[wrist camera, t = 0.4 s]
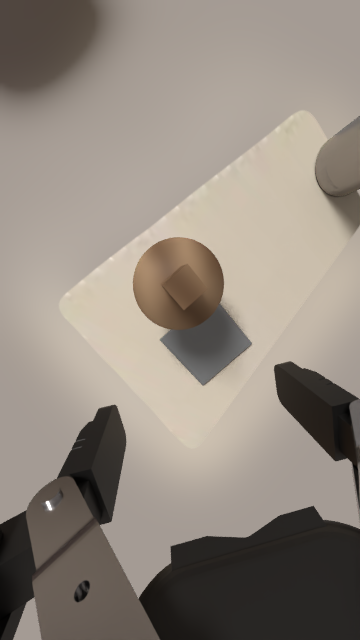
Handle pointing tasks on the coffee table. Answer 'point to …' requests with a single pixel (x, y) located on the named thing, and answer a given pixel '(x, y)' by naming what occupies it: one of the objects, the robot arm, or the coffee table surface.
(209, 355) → the mat
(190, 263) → the lid
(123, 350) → the coffee table surface
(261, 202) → the coffee table surface
